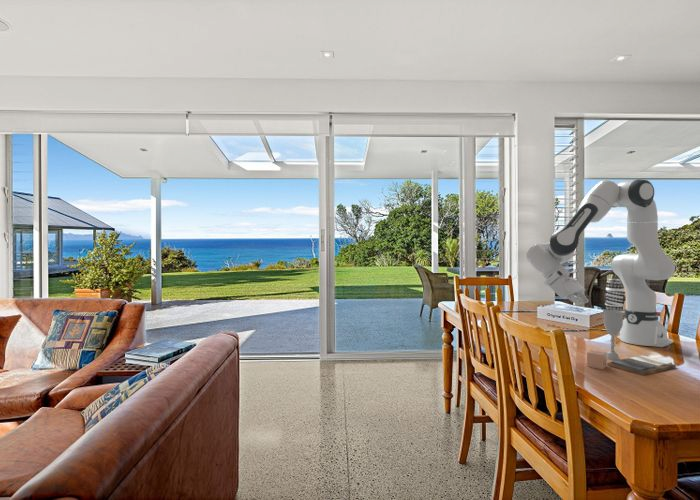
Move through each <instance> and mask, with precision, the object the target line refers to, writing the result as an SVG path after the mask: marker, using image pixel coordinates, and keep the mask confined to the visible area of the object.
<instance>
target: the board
mask: <svg viewBox="0 0 700 500" xmlns="http://www.w3.org/2000/svg"><path fill="white" fill-rule="evenodd" d="M607 366H608V367H613V368H615V369H618V370H622V371H623V370H624V371H627V372H630V373H634V374H638V375H641V376H646V375H649V374H654V373H657V372H662V371H667V370H671V369H674V368H676V364H675V363H673V362H671V361H667V360H664V359H658V358H655V357H651V356H648V355H647V356H646V355H637V356H632V357H628V358H622V359H620V360H612V361H607Z"/></svg>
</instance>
